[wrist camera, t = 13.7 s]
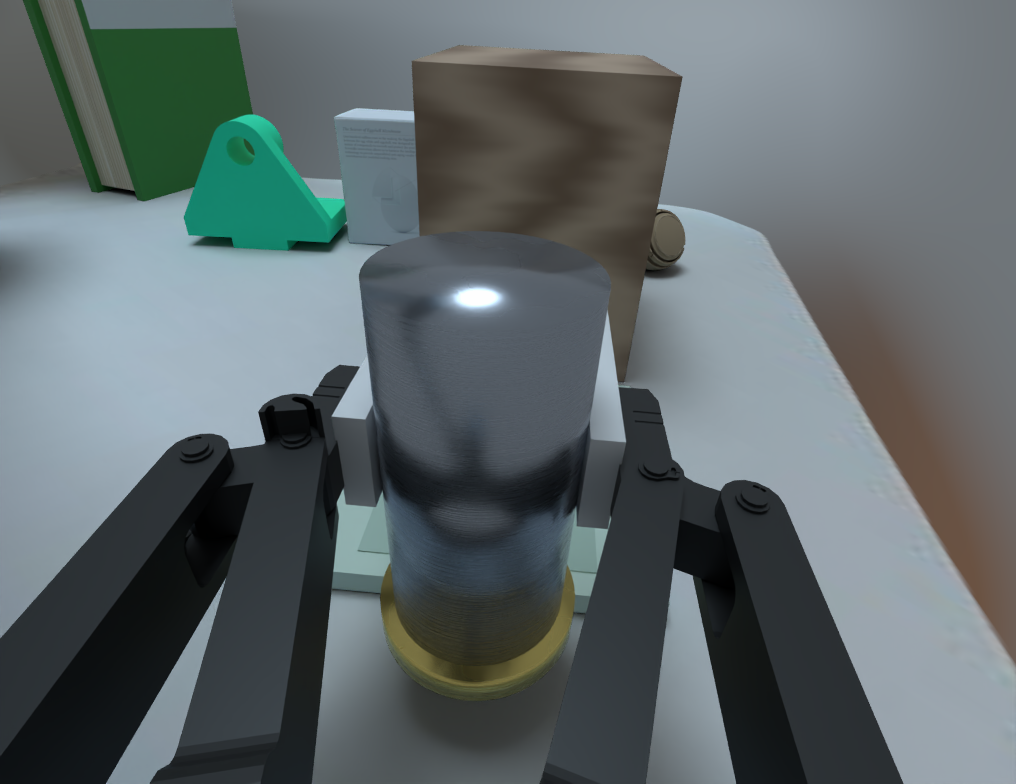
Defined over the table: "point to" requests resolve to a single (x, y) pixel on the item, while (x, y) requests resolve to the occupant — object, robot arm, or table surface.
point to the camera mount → (257, 192)
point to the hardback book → (143, 85)
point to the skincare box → (378, 175)
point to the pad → (368, 555)
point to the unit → (548, 155)
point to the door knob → (665, 241)
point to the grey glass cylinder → (481, 448)
